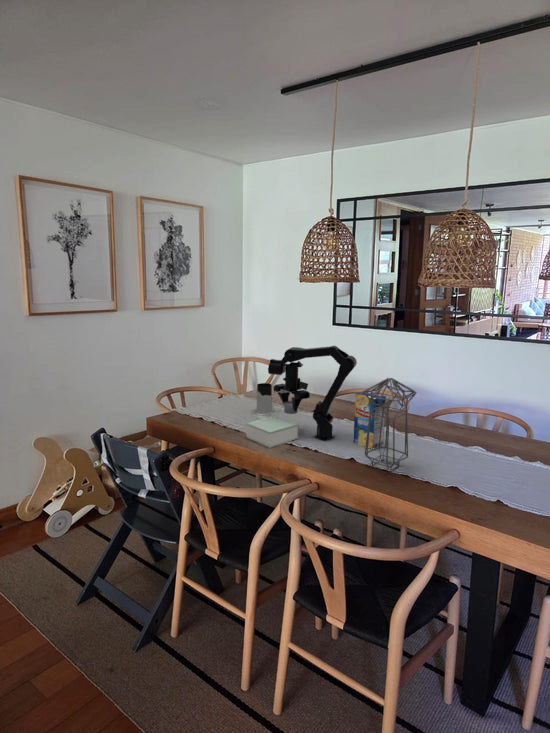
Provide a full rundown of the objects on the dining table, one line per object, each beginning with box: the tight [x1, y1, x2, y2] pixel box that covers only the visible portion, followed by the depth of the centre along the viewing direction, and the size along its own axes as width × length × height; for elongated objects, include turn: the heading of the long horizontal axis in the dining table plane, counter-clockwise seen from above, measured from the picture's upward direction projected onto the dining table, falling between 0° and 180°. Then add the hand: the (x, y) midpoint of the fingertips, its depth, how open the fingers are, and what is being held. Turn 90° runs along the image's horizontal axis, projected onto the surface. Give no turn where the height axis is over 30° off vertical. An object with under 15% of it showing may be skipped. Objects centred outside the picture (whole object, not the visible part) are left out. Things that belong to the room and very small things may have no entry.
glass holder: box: [255, 382, 281, 416], centre depth 249 cm, size 9×14×15 cm, turn 105°
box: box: [245, 424, 299, 449], centre depth 212 cm, size 16×16×6 cm
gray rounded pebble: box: [283, 399, 299, 415], centre depth 217 cm, size 6×6×4 cm
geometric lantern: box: [361, 377, 417, 471], centre depth 180 cm, size 16×16×35 cm
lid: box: [245, 415, 299, 434], centre depth 211 cm, size 16×16×1 cm
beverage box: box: [352, 391, 387, 449], centre depth 204 cm, size 7×11×22 cm, turn 38°
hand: (290, 409), depth 217 cm, fingers closed on gray rounded pebble, 6 cm apart
